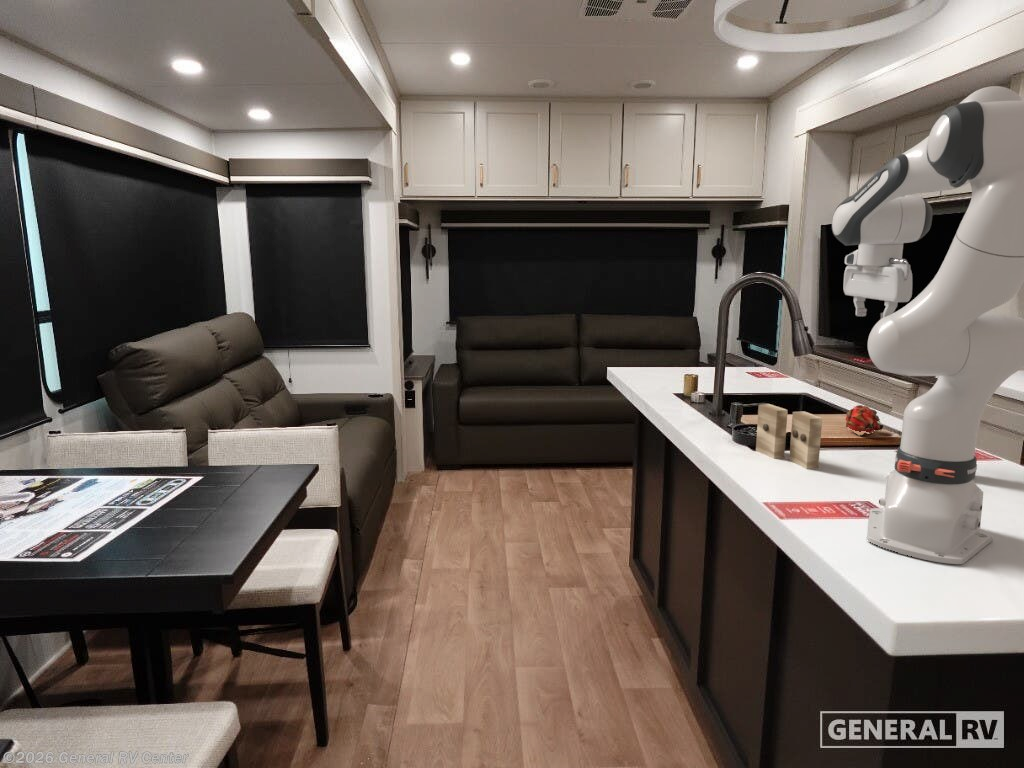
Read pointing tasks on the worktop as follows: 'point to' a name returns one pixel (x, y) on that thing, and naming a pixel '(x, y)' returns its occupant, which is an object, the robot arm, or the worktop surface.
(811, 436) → the tile two
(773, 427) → the tile one
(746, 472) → the worktop surface
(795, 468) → the worktop surface
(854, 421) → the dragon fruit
